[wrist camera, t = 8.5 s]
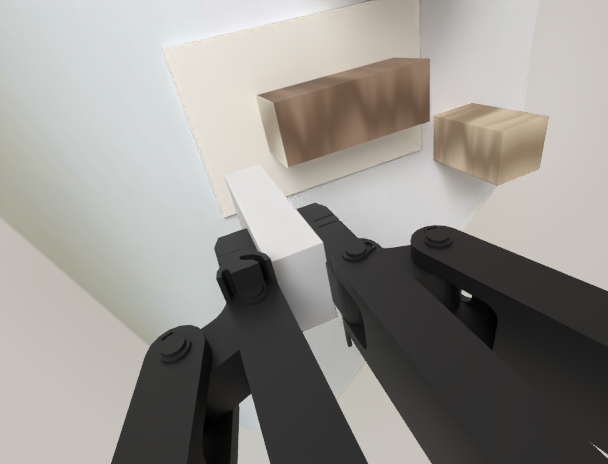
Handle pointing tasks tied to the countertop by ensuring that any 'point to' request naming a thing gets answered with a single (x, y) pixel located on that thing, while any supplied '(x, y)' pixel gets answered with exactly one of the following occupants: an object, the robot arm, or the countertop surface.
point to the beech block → (489, 141)
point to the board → (282, 73)
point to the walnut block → (345, 109)
